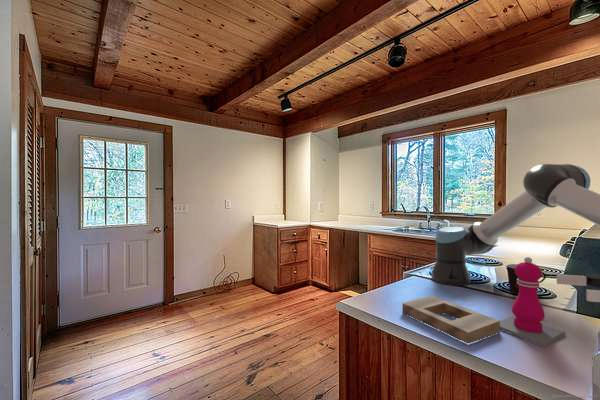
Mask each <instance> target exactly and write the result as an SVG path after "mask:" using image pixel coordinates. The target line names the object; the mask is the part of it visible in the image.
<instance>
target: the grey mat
mask: <svg viewBox="0 0 600 400" xmlns="http://www.w3.org/2000/svg"><path fill="white" fill-rule="evenodd" d="M515 317H516V316H515V315H514V314H513V315H512V316H509V317H507V318H503V319H501V320H499V321H500V331H502V330H503V331H502V332H504V331H505V333H507V332H509V333H511V334H510V335H512V334H513V335H512V336H514V335H516V336H515V337H517V336H518V337H517V338H519V337H521V338H520V339H522V338H523V340H524V339H526V340H525V341H527V340H528V341H527V342H529V341H531V342H530V343H532V342H534V343H533V344H535V343H536V344H535V345H537V344H539V345H538V346H540V345H541V346H540V347H542V346H543V347H544V345H545V346H547V345H549V344H551V343H553V342H555V341H556V339H557V340H559V339H560V337H561V338H563V337H565V336H566V331H564V330H561V329H558V328H554V327H553V326H552V327H551V326H549V325H546V324H543V323H541V324H542V332H539V333H533V332H528V331H524V330H521V329H519V328H517V327H516V326H515V325H514V318H515ZM509 333H508V334H509ZM564 335H565V336H564ZM562 336H563V337H562ZM558 338H559V339H558ZM550 342H551V343H550ZM548 343H549V344H548ZM546 344H547V345H546Z"/></svg>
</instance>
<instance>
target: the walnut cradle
mask: <svg viewBox="0 0 600 400" xmlns="http://www.w3.org/2000/svg"><path fill="white" fill-rule="evenodd" d="M401 305H402V306H401V307H402V311H401V312H402V314H403V313H404V314H406V315H408V316H411V317H413V318H415V319H417V320H419V321H422V322H423V323H426V324H428V325H430V326H432V327H434V328H436V329H439V330H440V331H443V332H445V333H447V334H449V335H451V336H453V337H455V338H457V339H459V340H462V341H464V342H466V343H471V342H474V341H477V340H480V339H483V338H485V337H488V336H491V335H493V334H496V333H499V332H500V333H501V330H500V321H501V320H499V319H496V318H493V317H491V316H488V315H486V314H482V313H480V312H477V311H474V310H472V309H469V308H466V307H464V306H462V305H458V304H455V303H453V302H450V301H448V300H445V299H442V298H439V297H437V296H433V295H429V296H424V297H421V298H417V299H414V300H410V301H409V300H408V301H406V302H403V303H402V304H401ZM442 313H445V314H444V315H446V314H447V315H446V316H448V315H450V316H449V317H451V316H453V317H455V318H454V319H453V320H450V319H449V318H446V317H444V316H441V315H443V314H442ZM404 314H403V315H404ZM438 314H441V315H438ZM406 315H405V316H406ZM408 316H407V317H408ZM453 317H452V318H453ZM456 318H458V319H456ZM423 323H422V324H423ZM500 333H499V334H500ZM496 335H497V334H496ZM491 337H492V336H491Z"/></svg>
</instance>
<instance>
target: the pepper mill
mask: <svg viewBox="0 0 600 400" xmlns="http://www.w3.org/2000/svg"><path fill="white" fill-rule="evenodd" d="M523 260H524V262H523V261H522V262H520V263H516V264H517V265H516V267H515V274H516V275H517V276H518V278H517V284H519V294H517V296H516V298H515V300H514V301H513V303H512V306H511V312H512V314H513V316H514V315H515V316H516V317H515V318H514V325H515V326H516V327H517V328H519V329H521V330H524V331H528V332H533V333H539V332H542V324H543V323H542V321H544V319H545V317H546V315H545V310H544V307H543V306H542V304H541V302H540V300H539V297H538V288H539V287H541V285H540V284H541V283H540V282H539V281H540V280H541V278H542V277H543V274H542V272H543V271H542V269H541V267H540V266H538V265H537V264H535V263H533V259H532V258H531V257H529V256H527V257H524V259H523Z"/></svg>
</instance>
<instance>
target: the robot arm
mask: <svg viewBox="0 0 600 400" xmlns="http://www.w3.org/2000/svg"><path fill="white" fill-rule="evenodd" d="M522 181H523V182H522V184H523V188H524V189H525V191H523V192H521V193H520V194H519V195H517V196H516V197H515V198H513V199H512V200H511V201H509V202H508V203H507V204H506V205H504V206H502V207H501V208H500V209H498V210H497V211H496V212H495V213H492V214H491V215H490V216H488V217H487V218H486V219H484V220H482V221H476V222H474V223H473V224H472V225H470V226H469V227H467V228H465V227H462V226H447V227H446V226H445V227H440V228H438V229H437V230H436V231H435V239H434V240H435V262H434V263H435V264H434V267H433V270H432V273H431V279H432V280H433V281H434V282H436V283H440V284H444V285H448V286H449V285H450V286H468V285H470V284H471V276H470V273H469V271H468V267H467V265H466V261H467V260H466V258H467V257H466V256H471V255H483V254H486V253H488V252H491V250H493V249H494V247H495V245H496V244H497V243H498V241H499V237H502V236H503V235H505V234H507V233H508V232H509V231H511V230H513V229H515V228H516V227H518V225H519V226H520V224H522V223H524V222H525V221H527V220H529V218H531V217H533V216H534V215H536V214H538V213H539V212H541V211H543V210H544V209H545V208H553V209H554V208H556V207H561V208H563V209H564V210H566V211H569V212H570V213H573V214H574V215H577V216H579V217H580V218H582V219H584V220H587V221H589V222H590V223H592V224H594V225H597V226H598V227H600V193H598V192H595V191H593V190H591V189H590V186H591V178H590V175H589V173H588V171H586V169H584V168H582V167H581V166H579V165H574V164H571V163H565V164H561V163H559V164H556V163H554V164H552V163H543V164H539V165H536V166H534V167H532V168H530V169H529V170H528V171H527V172H526V173H525V175H524V177H523V180H522ZM556 284H557V285H564V286H580V287H583V288H587V287H588V286H590V287H595V288H600V275H595V274H587V273H582V275H572V274H558V273H557V274H556ZM585 291H586V296H585V297H586V299H585V300H586V301H587V302H592V303H600V289H586V290H585Z"/></svg>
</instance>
